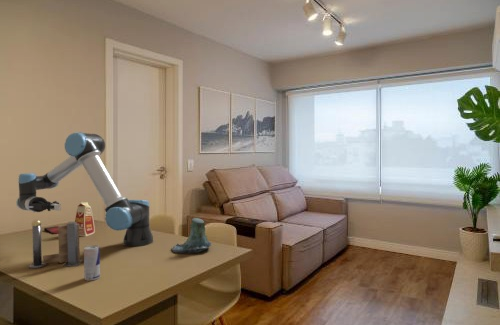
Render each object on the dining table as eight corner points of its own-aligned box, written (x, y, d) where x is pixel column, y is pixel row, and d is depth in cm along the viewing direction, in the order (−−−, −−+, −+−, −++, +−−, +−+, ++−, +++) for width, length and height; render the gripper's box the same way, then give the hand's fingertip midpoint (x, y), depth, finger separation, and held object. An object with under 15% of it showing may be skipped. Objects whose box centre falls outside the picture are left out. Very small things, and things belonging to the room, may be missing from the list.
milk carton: (86, 236, 193) (85, 202, 192) (72, 235, 195) (71, 201, 194) (96, 232, 202) (95, 199, 201) (82, 232, 204) (82, 199, 203)
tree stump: (189, 242, 179) (196, 211, 177) (217, 257, 168) (224, 224, 166) (163, 249, 163) (170, 214, 161) (191, 266, 153) (199, 229, 150)
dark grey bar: (62, 266, 141) (61, 224, 140) (68, 262, 147) (67, 221, 146) (78, 265, 142) (77, 223, 141) (82, 261, 148) (81, 221, 147)
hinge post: (49, 263, 145) (47, 218, 144) (39, 268, 139) (38, 221, 138) (35, 263, 145) (34, 218, 144) (25, 268, 139) (24, 221, 138)
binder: (44, 227, 208) (78, 222, 224) (44, 231, 208) (78, 225, 224) (53, 232, 198) (89, 226, 214) (53, 236, 198) (89, 230, 214)
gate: (43, 265, 142) (42, 228, 141) (43, 263, 144) (42, 227, 143) (79, 259, 149) (78, 224, 148) (79, 258, 151) (78, 223, 150)
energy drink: (102, 275, 130) (101, 245, 130) (96, 280, 125) (95, 249, 124) (88, 275, 130) (87, 245, 129) (81, 281, 124) (81, 249, 124)
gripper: (50, 209, 175) (73, 213, 161) (22, 213, 164) (44, 217, 151) (49, 195, 175) (72, 197, 161) (21, 198, 164) (43, 201, 151)
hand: (59, 207), depth 156 cm, fingers closed
